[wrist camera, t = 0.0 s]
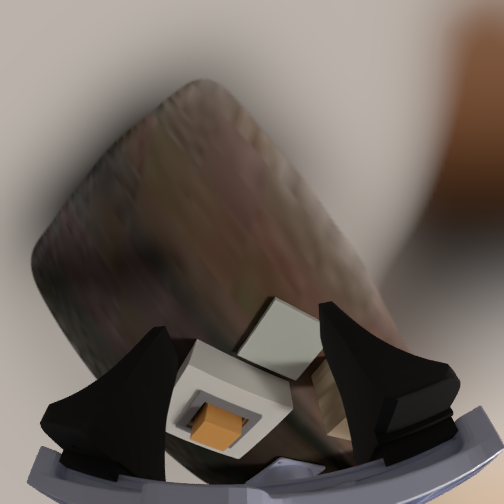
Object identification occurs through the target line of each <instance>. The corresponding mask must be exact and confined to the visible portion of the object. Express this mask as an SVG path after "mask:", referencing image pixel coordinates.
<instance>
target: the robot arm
mask: <svg viewBox="0 0 504 504" xmlns="http://www.w3.org/2000/svg"><path fill="white" fill-rule="evenodd" d="M319 322H320V339H321V343H322V347H323V351H324V354H325V357H326V360H327V362H328V365H329V367H330V370H331V372H332V375H333V377H334V380H335V382H336V385H337V388H338V390H339V393H340V396H341V399H342V402H343V406H344V410H345V414H346V418H347V423H348V427H349V432H350V437H351V442H352V447H353V452H354V458H355V464H356V466H355V467H351V468H348V469H344V470H340V471H335V472H331V473H326V474H322V475H317V474H319V473H320V472H322V471H323V470H325V466H322V465H316V464H311V463H306V462H301V461H296V460H292V459H287V458H283V457H281V458H278V459H277V460H276V461H274V462H273V463H272V464H270V465H269V466H268V467H266V468H265V469H264V470H262V471H261V472H260V473H258V474H257V475H255V476H254V477H252V478H251V479H250V480H248V481H247V482H246V484H233V485H207V484H186V483H174V482H166V479H165V433H166V422H167V415H168V410H169V406H170V401H171V397H172V393H173V389H174V385H175V381H176V376H177V369H178V358H179V356H178V354H177V352H176V350H175V348H174V345H173V343H172V341H171V339H170V336H169V334H168V332H167V329H166V327H165V326H161V327H154V328H152V329H151V330H150V331H149V332H148V333H147V334H146V335H145V336H144V337H143V338H142V339H141V340H140V342H139V343H138V344H137V345H136V346H135V347H134V348H133V349H132V350H131V351H130V352H129V353H128V354H127V355H126V356H125V357H124V358H123V359H122V360H121V361H119V362H118V363H117V364H116V365H115V366H114V367H113V368H112V369H111V370H109V371H108V372H107V373H106V374H104V375H103V376H102V377H101V378H99V379H98V380H96V381H95V382H93V383H92V384H91V385H89V386H88V387H86V388H84V389H82V390H80V391H79V392H77V393H75V394H73V395H71V396H69V397H67V398H64V399H62V400H59V401H57V402H54V403H52V404H49V406H48V408H47V410H46V412H45V414H44V416H43V418H42V420H41V422H40V425H41V428H42V429H43V431H44V432H45V433H46V434H47V435H48V436H49V437H50V438H51V439H52V440H53V441H54V442H55V443H57V444H58V445H59V446H60V447H61V448H62V449H63V452H62V454H61V453H59V452H57V451H55V450H52V449H49V448H46V447H44V446H41V448H40V450H39V452H38V455H37V457H36V460H35V462H34V464H33V467H32V469H31V472H30V475H29V477H28V480H27V483H28V484H29V485H30V486H32V487H33V488H35V489H36V490H38V491H39V492H41V493H43V494H44V495H46V496H47V497H49V498H51V499H52V500H54V501H56V502H58V503H59V504H425V503H426V502H429V501H431V500H433V499H435V498H436V497H438V496H440V495H442V494H444V493H446V492H448V491H449V490H451V489H453V488H455V487H456V486H458V485H460V484H461V483H463V482H465V481H466V480H468V479H469V478H471V477H472V476H474V475H476V474H477V473H478V472H480V471H481V470H482V469H483V468H484V467H486V466H487V465H488V464H489V463H490V462H491V461H492V460H493V459H494V458H496V457H497V456H498V455H499V454H500V453H501V452H502V451H503V450H504V444H503V442H502V441H501V439H500V437H499V435H498V433H497V431H496V430H495V428H494V426H493V424H492V423H491V421H490V419H489V418H488V416H487V414H486V413H485V411H484V409H483V408H482V406H478V407H477V408H475V409H473V410H472V411H470V412H468V413H466V414H465V415H463V416H461V417H460V418H458V419H457V420H456V421H455V422H454V421H453V419H452V417H451V416H452V415H453V411H452V409H451V408H450V406H451V404H452V403H453V401H454V399H455V397H456V395H457V394H458V391H459V389H460V380H459V379H458V377H457V376H456V374H455V372H454V371H453V370H452V368H451V367H450V366H449V365H448V364H446V363H441V362H437V361H432V360H428V359H425V358H422V357H418V356H415V355H413V354H410V353H407V352H405V351H403V350H400V349H398V348H396V347H394V346H392V345H390V344H388V343H386V342H384V341H382V340H381V339H379V338H377V337H376V336H374V335H373V334H371V333H370V332H368V331H367V330H365V329H364V328H363V327H361V326H360V325H359V324H358V323H356V322H355V321H354V320H353V319H351V318H350V317H349V316H348V315H347V314H346V313H344V312H343V311H342V310H341V309H340V308H339V307H338V306H337V305H336V304H334V303H333V302H332V301H331V302H326V303H320V304H319Z"/></svg>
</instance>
